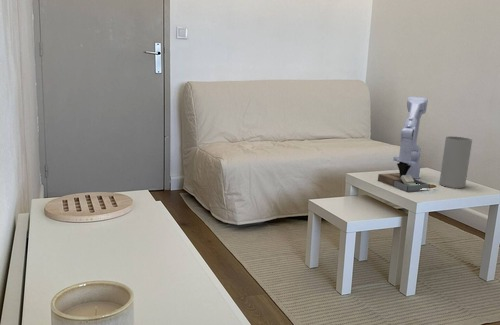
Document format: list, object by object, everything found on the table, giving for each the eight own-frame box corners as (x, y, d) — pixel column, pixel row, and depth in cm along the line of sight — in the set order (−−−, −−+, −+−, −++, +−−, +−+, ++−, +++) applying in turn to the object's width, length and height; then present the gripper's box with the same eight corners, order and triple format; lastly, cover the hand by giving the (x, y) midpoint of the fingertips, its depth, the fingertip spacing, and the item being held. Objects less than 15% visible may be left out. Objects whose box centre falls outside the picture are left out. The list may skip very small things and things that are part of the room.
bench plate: (398, 179, 257) (399, 172, 256) (414, 184, 246) (415, 178, 245) (377, 180, 251) (378, 174, 250) (393, 186, 240) (393, 179, 240)
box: (414, 185, 246) (415, 179, 245) (429, 190, 237) (430, 184, 236) (393, 186, 240) (394, 181, 239) (407, 192, 231) (408, 186, 230)
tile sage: (419, 184, 237) (419, 188, 237) (413, 182, 240) (412, 186, 241) (411, 185, 235) (411, 189, 235) (405, 183, 238) (405, 186, 239)
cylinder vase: (467, 185, 251) (474, 138, 245) (462, 190, 240) (469, 141, 235) (442, 181, 257) (448, 135, 252) (436, 185, 247) (443, 138, 242)
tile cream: (408, 177, 244) (409, 174, 243) (412, 183, 241) (414, 181, 240) (400, 177, 242) (402, 175, 241) (404, 184, 239) (406, 181, 238)
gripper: (389, 148, 246) (387, 174, 249) (409, 154, 233) (406, 181, 236) (400, 148, 249) (397, 173, 251) (420, 154, 236) (417, 180, 239)
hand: (402, 177), depth 244 cm, fingers closed
